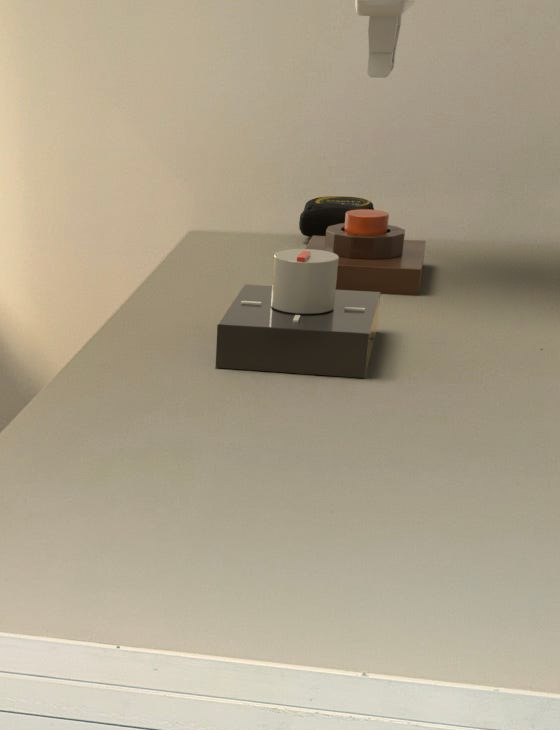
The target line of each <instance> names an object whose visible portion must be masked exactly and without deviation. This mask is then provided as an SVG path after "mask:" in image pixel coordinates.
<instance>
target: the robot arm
mask: <svg viewBox="0 0 560 730" xmlns="http://www.w3.org/2000/svg"><path fill="white" fill-rule="evenodd" d="M415 2H416V0H355V2H354V3H355V14H357V15H358V16H359V17H361V16H362V17H369V19H368V29H367V32H368V34H367V35H368V37H367V38H368V59H367V70H366V72H367V76H369V78H380V79H381V78H382V79H383V78H385V79H386V78H387V77H389V76H390V75H391V72H392V71H393V70H394V68H395V62H396V52H397V48H398V47H397V46H398V41H399V35H400V31H401V27H402V18H403V17H402V16H403V14H405V13H406V12H407V11H408V10H409V9H410V8H411V7H412V6H414V5H415Z"/></svg>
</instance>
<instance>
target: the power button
mask: <svg viewBox="0 0 560 730" xmlns="http://www.w3.org/2000/svg"><path fill="white" fill-rule="evenodd" d="M389 217H390V213H389V212H387V211H384V210H378V209H374V210H366V209H361V210H350V211H347V212H346V215H345V227H344V232H347V233H353V234H365V235H374V234H385V233H387V229H388V225H389V221H390V219H389Z"/></svg>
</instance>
